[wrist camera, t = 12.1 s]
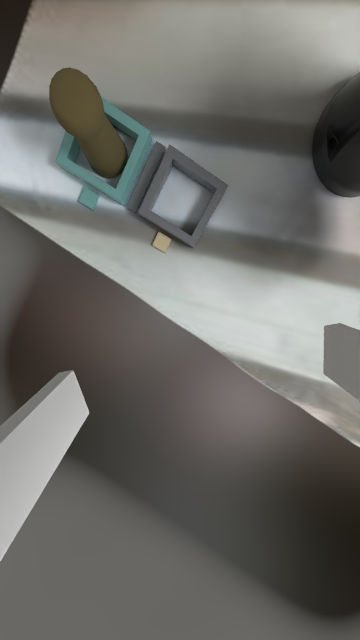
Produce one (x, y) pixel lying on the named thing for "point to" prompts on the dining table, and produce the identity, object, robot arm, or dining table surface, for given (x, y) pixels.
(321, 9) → the dining table surface
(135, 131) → the panel
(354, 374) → the robot arm
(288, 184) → the dining table surface
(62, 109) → the cork
